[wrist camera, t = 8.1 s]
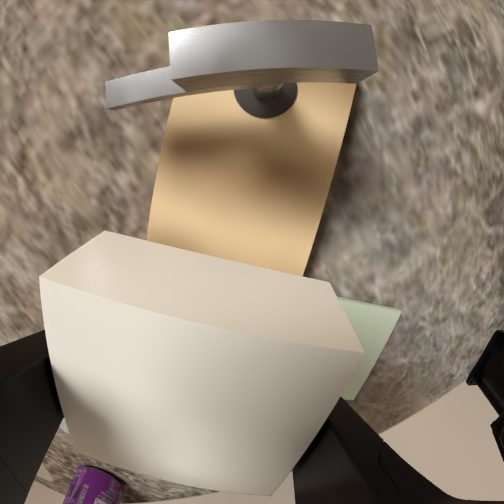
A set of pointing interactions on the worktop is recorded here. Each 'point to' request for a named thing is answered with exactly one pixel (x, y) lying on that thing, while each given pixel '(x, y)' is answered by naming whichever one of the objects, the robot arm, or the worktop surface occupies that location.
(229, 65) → the lever handle
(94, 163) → the worktop surface
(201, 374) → the cover
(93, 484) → the beverage can
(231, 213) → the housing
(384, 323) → the pad
